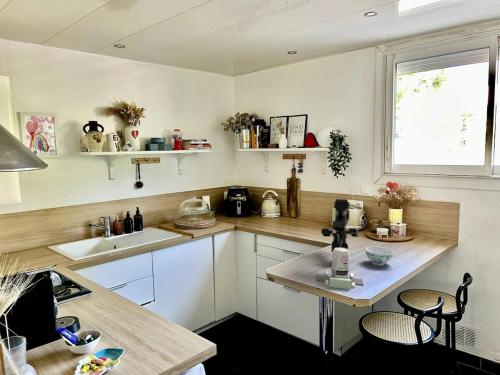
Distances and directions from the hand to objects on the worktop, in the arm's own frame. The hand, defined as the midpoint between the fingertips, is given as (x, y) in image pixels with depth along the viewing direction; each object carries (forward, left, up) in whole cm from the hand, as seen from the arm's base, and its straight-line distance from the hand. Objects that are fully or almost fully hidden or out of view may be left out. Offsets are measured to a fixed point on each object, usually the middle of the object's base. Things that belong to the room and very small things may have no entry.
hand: (338, 247), depth 195 cm
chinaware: (-26, +14, -13) cm, 33 cm away
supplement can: (+9, +5, -13) cm, 17 cm away
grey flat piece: (+12, +6, -13) cm, 18 cm away
